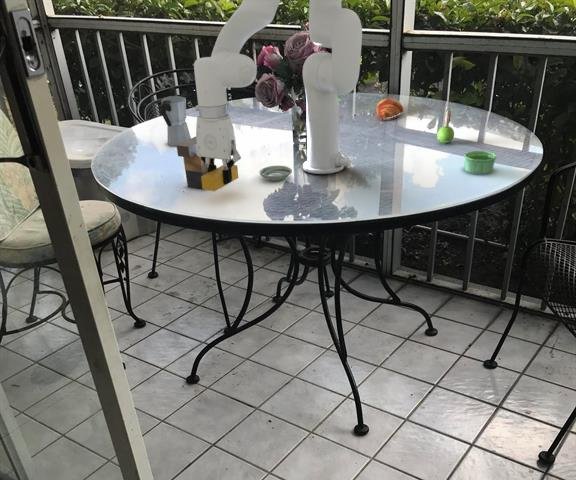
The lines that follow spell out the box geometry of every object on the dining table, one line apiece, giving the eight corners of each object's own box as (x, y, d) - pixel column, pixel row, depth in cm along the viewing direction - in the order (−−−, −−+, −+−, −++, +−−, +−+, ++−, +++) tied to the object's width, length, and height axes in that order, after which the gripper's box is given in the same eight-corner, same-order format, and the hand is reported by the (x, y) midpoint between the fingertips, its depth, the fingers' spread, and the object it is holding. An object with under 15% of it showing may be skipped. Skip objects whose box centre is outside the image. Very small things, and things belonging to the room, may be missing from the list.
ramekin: (481, 163, 185) (484, 148, 182) (500, 172, 178) (503, 157, 175) (456, 168, 182) (458, 153, 180) (474, 177, 175) (476, 161, 173)
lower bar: (204, 143, 179) (203, 132, 178) (215, 144, 178) (214, 134, 176) (178, 156, 171) (176, 145, 169) (189, 157, 169) (188, 146, 167)
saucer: (253, 179, 182) (252, 171, 181) (276, 171, 187) (276, 163, 186) (275, 186, 177) (275, 178, 175) (298, 177, 182) (298, 169, 180)
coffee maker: (177, 137, 223) (169, 83, 212) (198, 138, 221) (191, 84, 210) (157, 149, 212) (147, 93, 201) (179, 150, 209) (171, 94, 199)
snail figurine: (435, 146, 201) (439, 107, 194) (436, 140, 206) (440, 102, 199) (452, 146, 200) (457, 107, 193) (453, 141, 205) (457, 102, 197)
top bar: (214, 191, 164) (213, 178, 162) (202, 189, 166) (201, 176, 164) (238, 177, 172) (237, 165, 170) (226, 176, 174) (225, 163, 172)
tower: (215, 183, 181) (211, 148, 175) (204, 189, 177) (199, 154, 171) (199, 180, 183) (194, 146, 177) (187, 187, 179) (182, 152, 173)
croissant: (388, 118, 245) (379, 99, 242) (411, 106, 239) (403, 86, 236) (374, 131, 229) (365, 110, 226) (398, 119, 223) (390, 97, 220)
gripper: (178, 112, 159) (188, 182, 170) (233, 117, 152) (239, 190, 163) (195, 105, 164) (203, 174, 175) (248, 110, 157) (253, 181, 168)
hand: (220, 181), depth 169 cm, fingers closed on top bar, 4 cm apart
